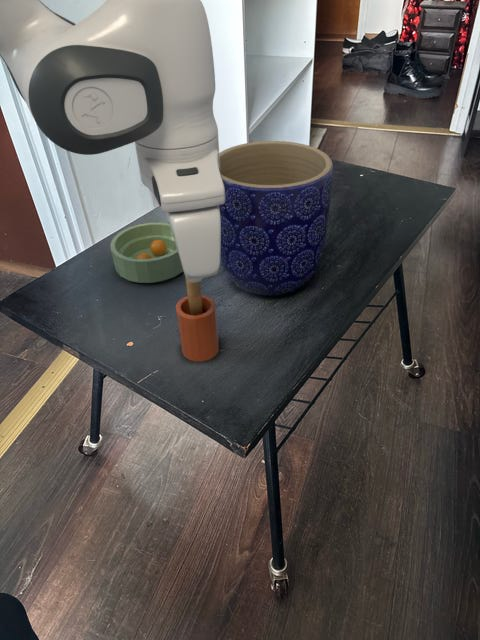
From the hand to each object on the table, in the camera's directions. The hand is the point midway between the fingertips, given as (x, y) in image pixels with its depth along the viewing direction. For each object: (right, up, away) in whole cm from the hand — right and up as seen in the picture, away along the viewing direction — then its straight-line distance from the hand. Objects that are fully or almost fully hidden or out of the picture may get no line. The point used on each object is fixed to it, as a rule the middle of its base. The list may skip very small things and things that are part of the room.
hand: (191, 268), depth 61 cm
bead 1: (-11, +4, +24) cm, 26 cm away
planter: (+11, +1, +23) cm, 26 cm away
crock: (0, -11, +9) cm, 14 cm away
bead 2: (-9, +7, +27) cm, 30 cm away
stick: (0, -10, +9) cm, 14 cm away
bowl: (-10, +4, +27) cm, 29 cm away
